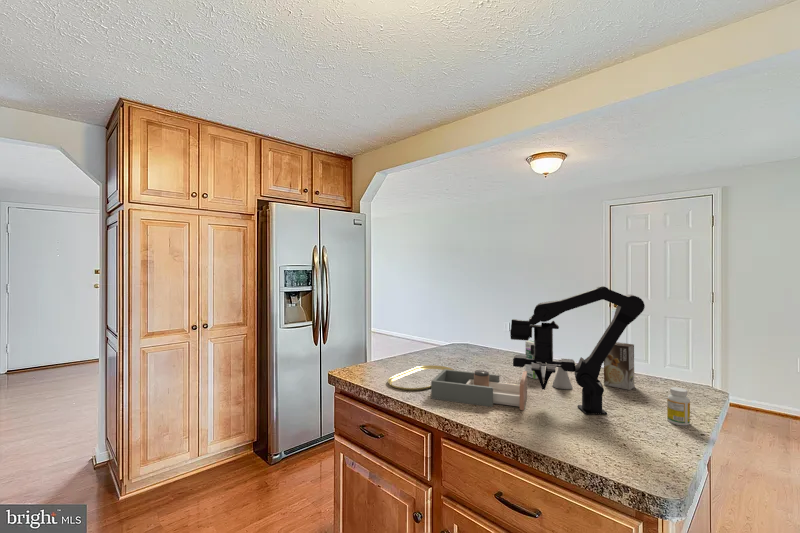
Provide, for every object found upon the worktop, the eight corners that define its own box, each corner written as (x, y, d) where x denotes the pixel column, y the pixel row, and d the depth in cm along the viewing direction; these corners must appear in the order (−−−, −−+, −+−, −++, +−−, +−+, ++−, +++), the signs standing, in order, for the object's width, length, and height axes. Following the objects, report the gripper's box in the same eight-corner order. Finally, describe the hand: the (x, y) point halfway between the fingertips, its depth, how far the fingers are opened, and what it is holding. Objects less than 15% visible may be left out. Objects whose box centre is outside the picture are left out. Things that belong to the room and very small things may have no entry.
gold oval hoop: (377, 386, 145) (377, 382, 145) (425, 366, 174) (425, 363, 174) (419, 396, 135) (419, 391, 135) (463, 373, 163) (463, 369, 163)
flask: (568, 384, 147) (568, 358, 147) (575, 390, 139) (575, 363, 139) (549, 383, 147) (549, 357, 147) (555, 389, 140) (555, 362, 140)
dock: (499, 391, 138) (499, 374, 138) (492, 406, 123) (492, 388, 123) (444, 384, 146) (444, 369, 146) (431, 398, 131) (431, 381, 131)
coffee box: (635, 387, 143) (635, 344, 143) (629, 390, 139) (629, 346, 139) (609, 381, 150) (609, 340, 150) (602, 384, 146) (602, 342, 146)
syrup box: (524, 375, 158) (524, 340, 158) (535, 374, 160) (535, 339, 160) (534, 379, 153) (534, 343, 153) (545, 377, 155) (545, 342, 155)
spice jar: (490, 395, 130) (491, 374, 130) (475, 395, 130) (475, 374, 130) (486, 390, 135) (487, 370, 135) (472, 390, 135) (472, 369, 135)
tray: (527, 393, 134) (527, 371, 134) (523, 410, 119) (523, 384, 119) (470, 387, 142) (470, 365, 142) (460, 401, 127) (460, 377, 127)
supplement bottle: (677, 426, 108) (677, 392, 108) (662, 419, 113) (662, 386, 113) (695, 425, 108) (695, 391, 108) (679, 418, 114) (679, 386, 114)
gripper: (573, 339, 129) (573, 385, 129) (515, 335, 136) (516, 379, 136) (575, 345, 118) (575, 395, 118) (512, 341, 125) (512, 388, 125)
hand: (543, 389), depth 125 cm, fingers closed
